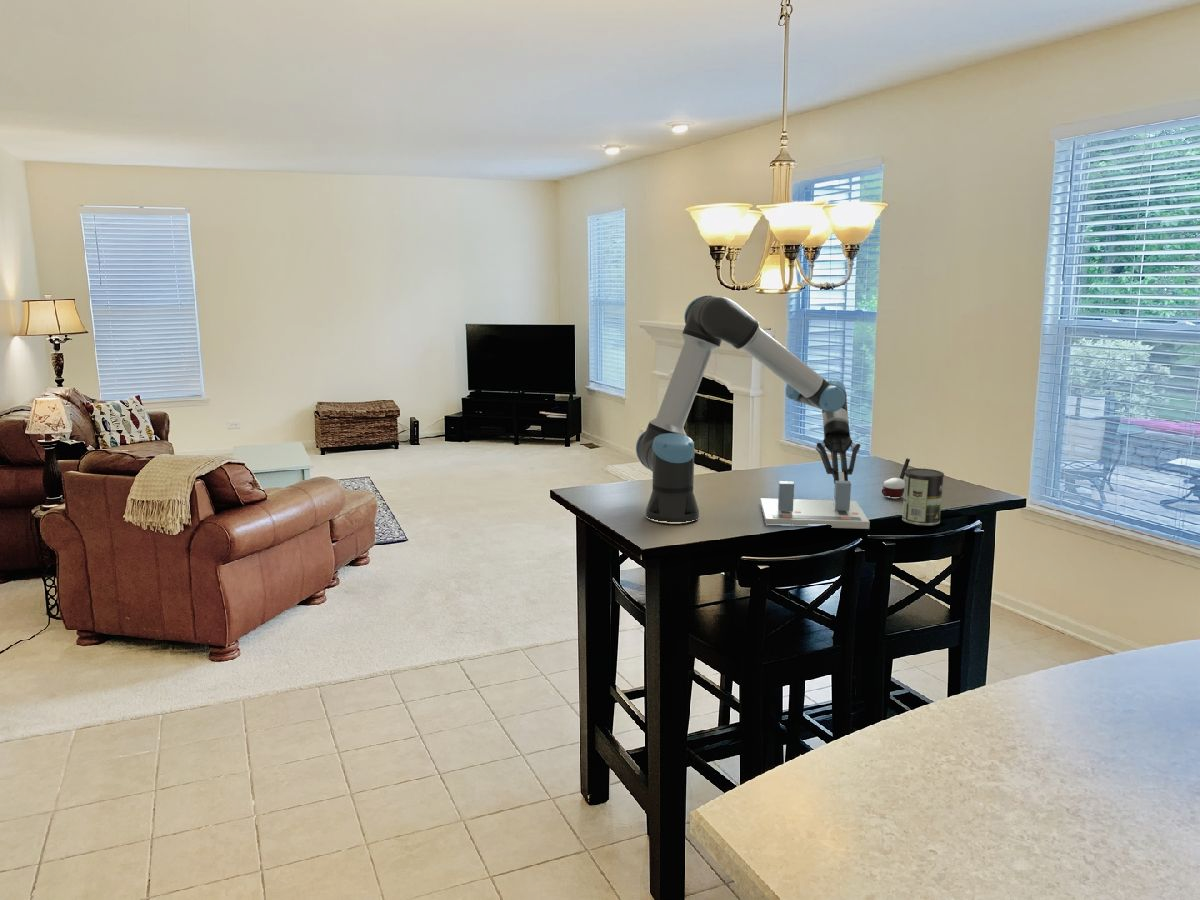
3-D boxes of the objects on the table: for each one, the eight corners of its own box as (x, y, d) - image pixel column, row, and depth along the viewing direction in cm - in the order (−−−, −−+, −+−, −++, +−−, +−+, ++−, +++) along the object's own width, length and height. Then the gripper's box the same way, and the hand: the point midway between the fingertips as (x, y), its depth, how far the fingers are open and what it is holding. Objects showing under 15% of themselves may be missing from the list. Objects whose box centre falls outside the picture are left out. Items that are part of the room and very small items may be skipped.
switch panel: (765, 525, 241) (765, 518, 241) (760, 504, 263) (760, 497, 262) (869, 528, 238) (869, 521, 238) (855, 507, 260) (855, 500, 259)
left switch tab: (778, 510, 247) (779, 483, 245) (777, 508, 250) (778, 481, 248) (792, 511, 246) (794, 484, 245) (791, 508, 249) (793, 481, 247)
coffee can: (936, 516, 250) (940, 468, 247) (943, 526, 240) (947, 477, 237) (899, 514, 252) (902, 467, 249) (904, 524, 242) (907, 475, 239)
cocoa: (883, 501, 268) (884, 464, 265) (876, 495, 274) (877, 458, 271) (913, 500, 268) (915, 462, 265) (906, 494, 274) (908, 457, 271)
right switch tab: (835, 510, 247) (836, 483, 246) (833, 507, 250) (834, 480, 248) (849, 510, 247) (851, 483, 245) (847, 508, 250) (849, 480, 248)
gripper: (856, 433, 265) (862, 500, 253) (812, 432, 267) (817, 499, 254) (860, 419, 259) (867, 487, 246) (815, 418, 261) (820, 486, 248)
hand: (842, 493), depth 250 cm, fingers closed
